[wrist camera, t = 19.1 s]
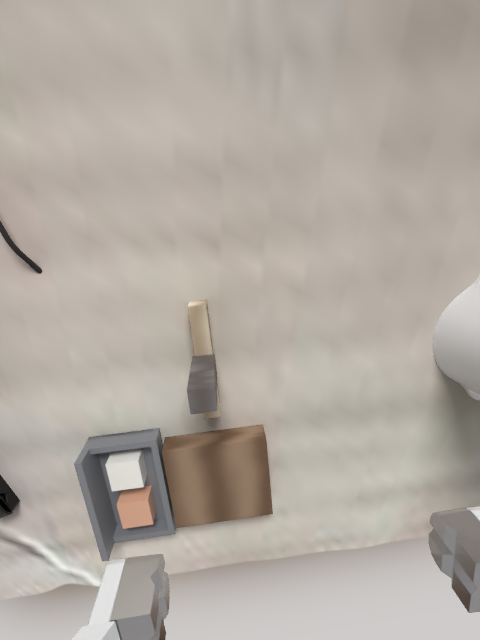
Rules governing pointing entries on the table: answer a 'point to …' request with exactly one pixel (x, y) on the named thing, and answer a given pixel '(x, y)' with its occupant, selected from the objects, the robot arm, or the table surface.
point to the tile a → (126, 469)
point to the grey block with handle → (202, 364)
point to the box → (105, 500)
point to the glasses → (1, 229)
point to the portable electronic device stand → (7, 499)
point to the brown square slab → (218, 475)
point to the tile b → (136, 507)
